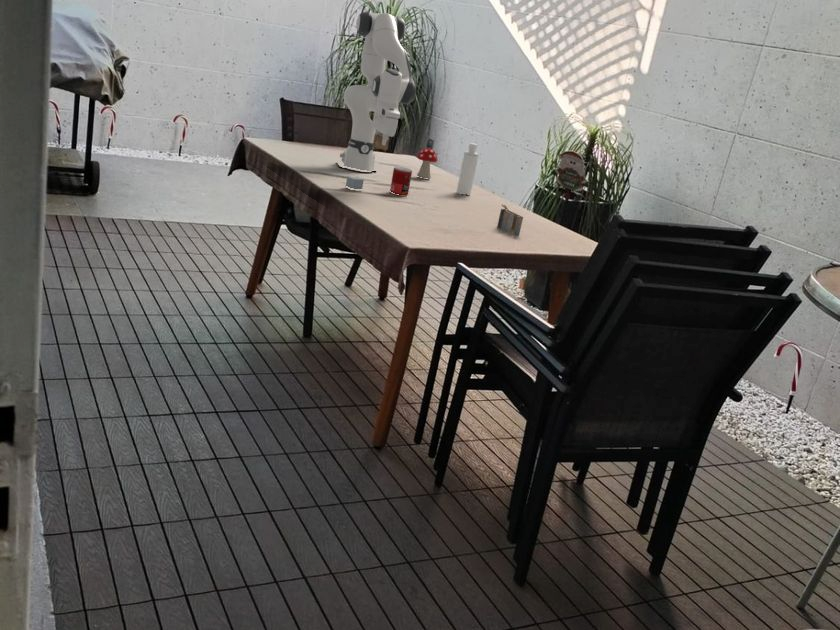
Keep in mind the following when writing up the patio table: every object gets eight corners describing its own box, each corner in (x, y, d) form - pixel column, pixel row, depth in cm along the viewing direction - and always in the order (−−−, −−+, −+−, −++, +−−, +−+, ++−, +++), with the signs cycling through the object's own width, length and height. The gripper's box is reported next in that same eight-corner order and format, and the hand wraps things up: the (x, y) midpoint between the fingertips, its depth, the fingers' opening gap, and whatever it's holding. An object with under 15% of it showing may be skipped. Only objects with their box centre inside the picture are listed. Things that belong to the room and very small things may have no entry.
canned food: (404, 197, 343) (408, 171, 339) (386, 192, 345) (391, 167, 341) (410, 195, 350) (414, 169, 346) (393, 190, 352) (397, 165, 348)
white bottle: (469, 196, 375) (480, 142, 367) (455, 193, 376) (466, 139, 368) (471, 194, 381) (482, 141, 373) (457, 191, 382) (468, 138, 374)
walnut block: (372, 146, 340) (374, 134, 339) (383, 147, 342) (385, 135, 341) (376, 148, 336) (378, 136, 335) (387, 150, 338) (389, 138, 337)
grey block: (345, 188, 338) (347, 176, 336) (355, 188, 341) (357, 177, 339) (351, 191, 334) (353, 179, 332) (361, 191, 337) (363, 179, 336)
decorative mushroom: (434, 179, 404) (439, 149, 399) (432, 181, 396) (438, 151, 391) (414, 175, 404) (419, 145, 399) (412, 177, 396) (418, 147, 391)
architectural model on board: (495, 227, 319) (501, 203, 316) (502, 228, 321) (507, 204, 318) (512, 235, 310) (518, 211, 307) (518, 236, 312) (524, 211, 309)
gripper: (371, 105, 342) (366, 137, 346) (387, 112, 324) (381, 147, 329) (385, 107, 344) (380, 139, 349) (401, 115, 327) (395, 149, 331)
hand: (380, 143), depth 339 cm, fingers closed on walnut block, 5 cm apart
